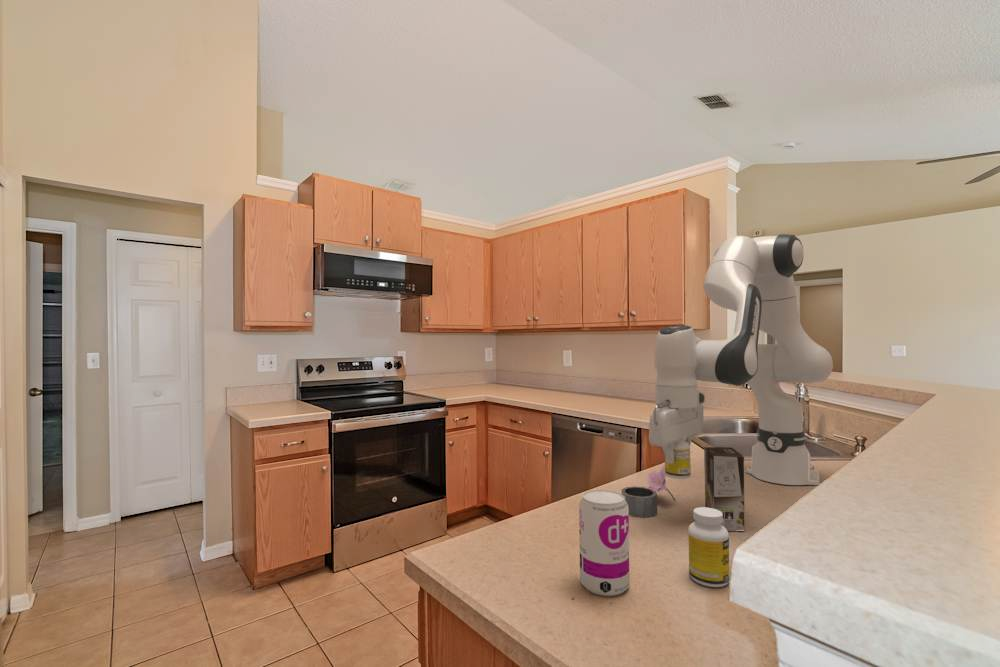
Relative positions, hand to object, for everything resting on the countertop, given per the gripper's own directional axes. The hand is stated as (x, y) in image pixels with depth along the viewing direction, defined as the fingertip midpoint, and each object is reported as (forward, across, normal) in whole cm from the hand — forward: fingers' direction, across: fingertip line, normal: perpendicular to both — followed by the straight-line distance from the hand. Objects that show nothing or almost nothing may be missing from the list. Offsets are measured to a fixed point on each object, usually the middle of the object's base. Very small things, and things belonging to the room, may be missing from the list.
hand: (677, 459), depth 107 cm
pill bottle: (+14, -20, -14) cm, 29 cm away
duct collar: (+14, +1, +10) cm, 17 cm away
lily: (+15, +11, +10) cm, 21 cm away
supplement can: (+14, -34, -2) cm, 37 cm away
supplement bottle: (+4, 0, 0) cm, 4 cm away
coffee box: (+14, +7, -8) cm, 18 cm away
